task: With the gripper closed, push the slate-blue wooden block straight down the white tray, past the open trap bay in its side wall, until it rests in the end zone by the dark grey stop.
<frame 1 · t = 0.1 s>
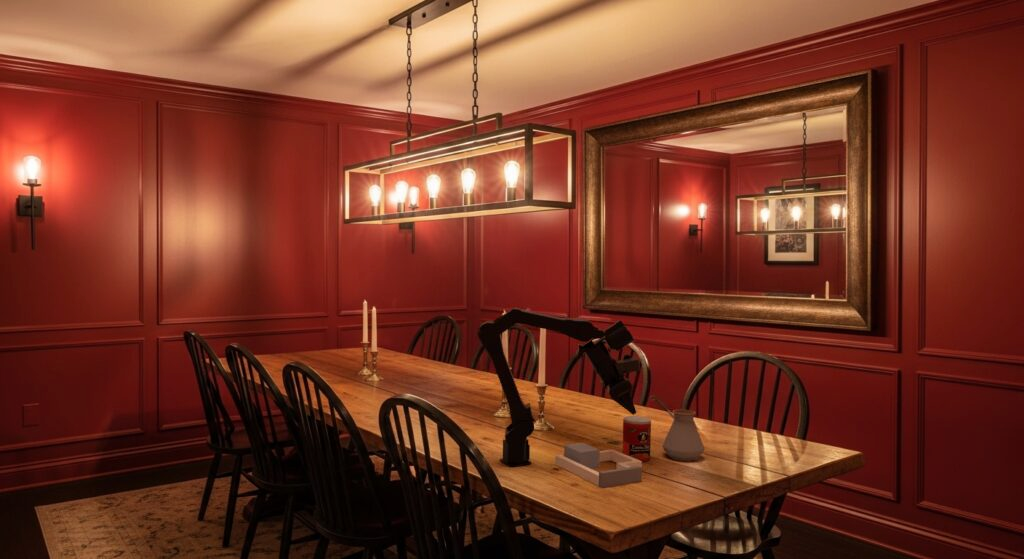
hand: (631, 409, 192), 15 cm above the table, tool tilted 30°, fingers open, 9 cm apart
coffee pot: (672, 453, 205), on the table
slate block: (581, 466, 191), on the table
white tray: (595, 471, 185), on the table
canned food: (636, 458, 199), on the table
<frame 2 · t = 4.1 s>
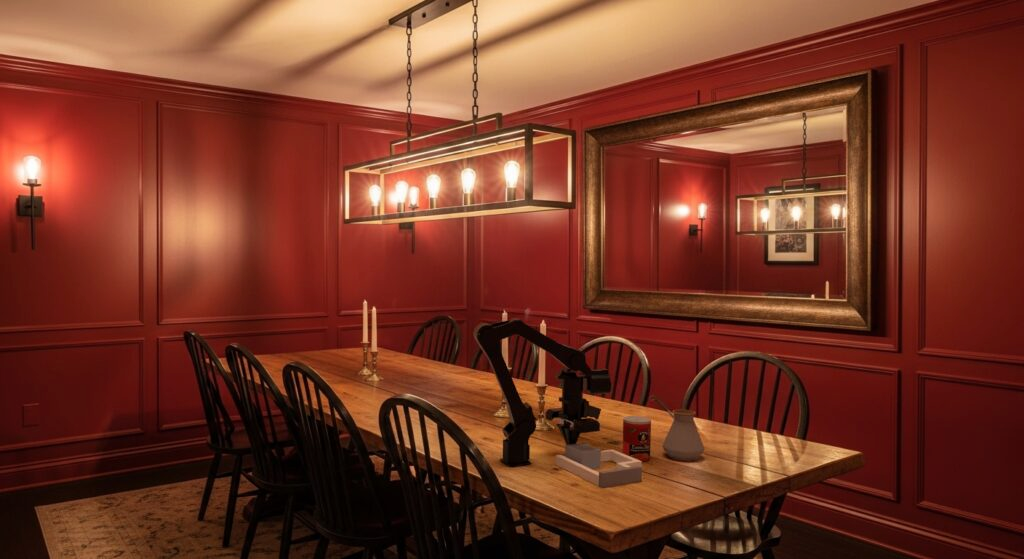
hand: (571, 451, 196), 3 cm above the table, tool pointing down, fingers closed
slate block: (582, 465, 191), on the table, touching gripper
everything else where it was.
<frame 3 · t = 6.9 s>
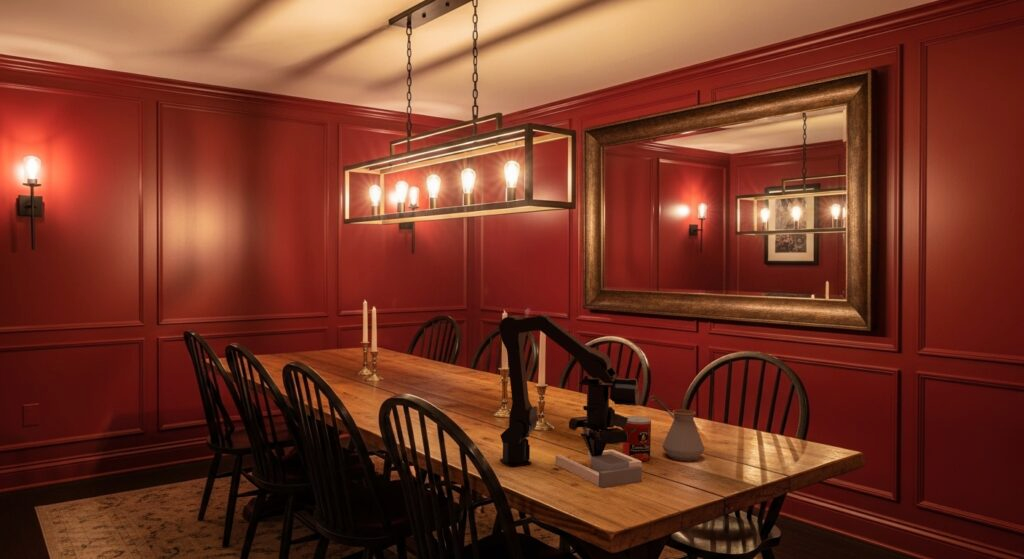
hand: (596, 462, 185), 3 cm above the table, tool pointing down, fingers closed
slate block: (609, 479, 180), on the table
everything else where it was.
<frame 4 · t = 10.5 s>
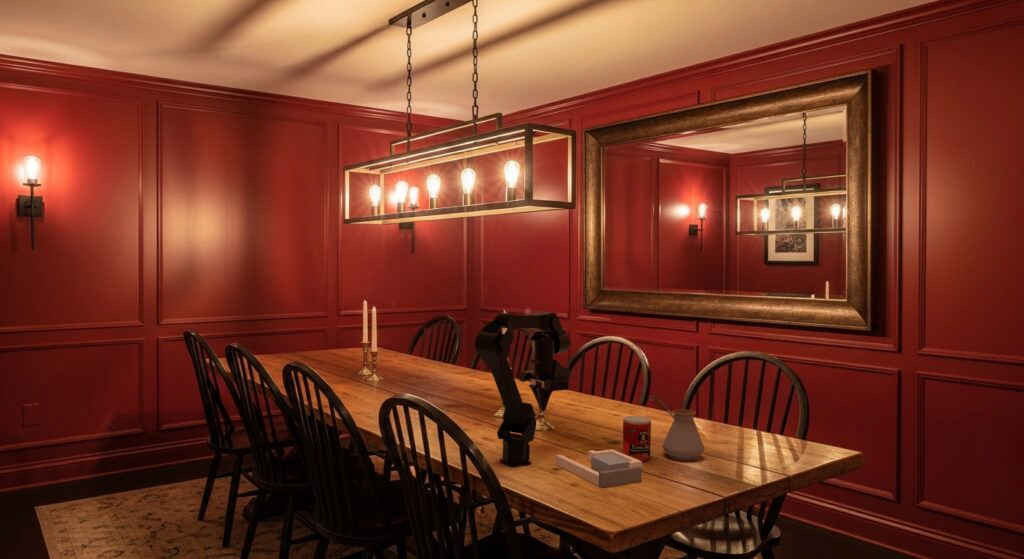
hand: (543, 410, 203), 12 cm above the table, tool pointing down, fingers closed
nothing on the table moved.
at the end: slate block inside the target area (1.5 cm from its centre), on the table; slate block tilted 0° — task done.
